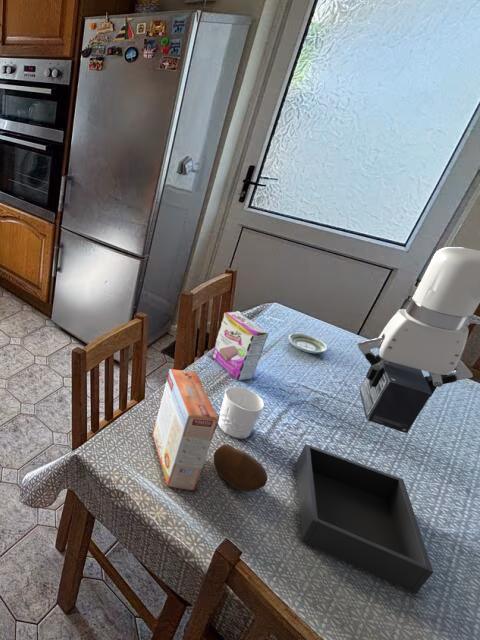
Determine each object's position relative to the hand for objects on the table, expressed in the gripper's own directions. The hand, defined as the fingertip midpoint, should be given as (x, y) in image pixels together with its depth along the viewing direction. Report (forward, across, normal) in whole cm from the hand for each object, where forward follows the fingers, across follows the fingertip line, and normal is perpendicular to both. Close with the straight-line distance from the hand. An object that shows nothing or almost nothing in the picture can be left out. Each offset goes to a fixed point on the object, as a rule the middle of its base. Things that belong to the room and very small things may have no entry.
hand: (395, 389), depth 82 cm
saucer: (+23, +7, -46) cm, 51 cm away
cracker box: (+23, +33, +21) cm, 45 cm away
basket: (+22, +2, +16) cm, 28 cm away
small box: (+6, 0, 0) cm, 6 cm away
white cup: (+23, +23, +3) cm, 32 cm away
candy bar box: (+23, +26, -22) cm, 41 cm away
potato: (+23, +22, +19) cm, 36 cm away
